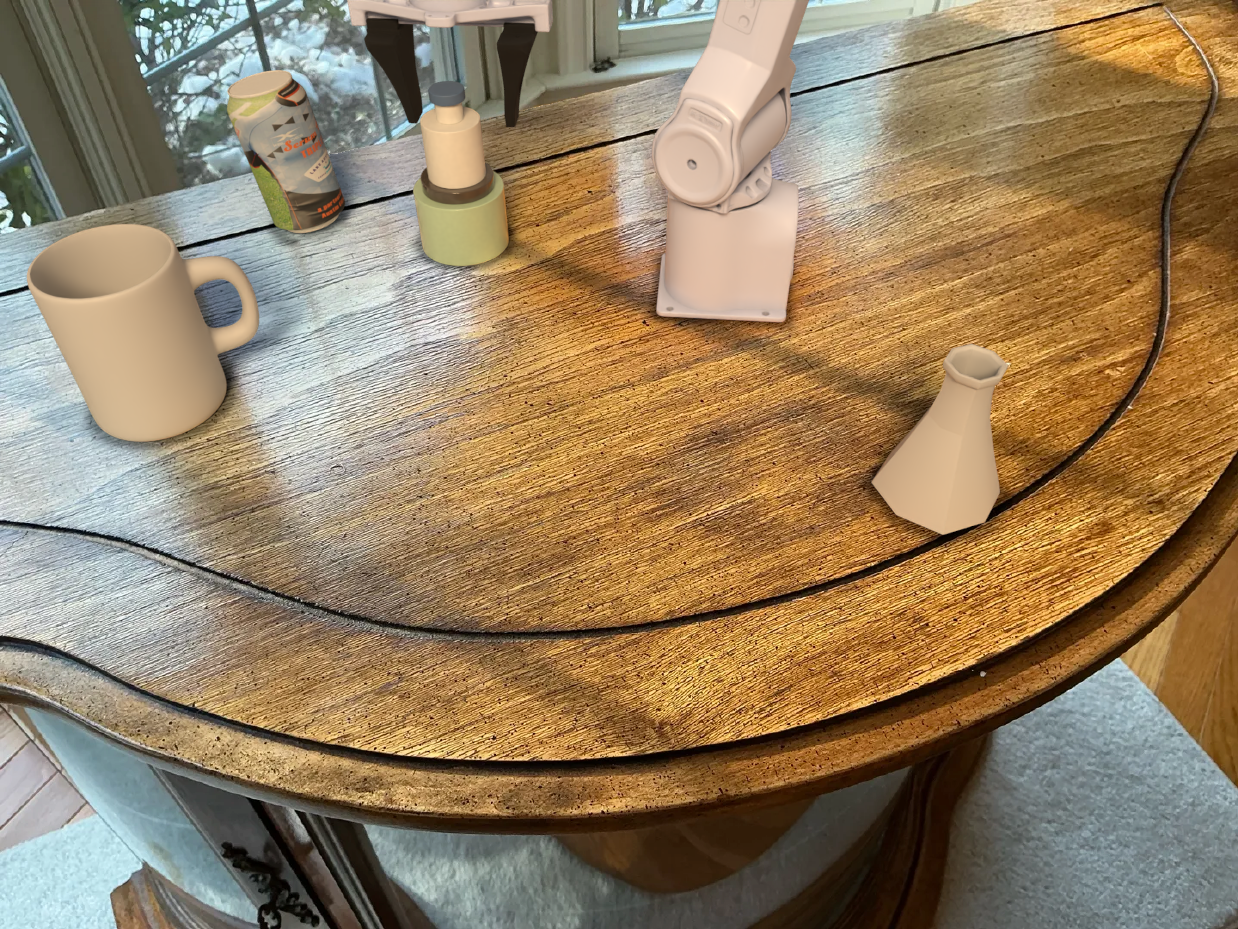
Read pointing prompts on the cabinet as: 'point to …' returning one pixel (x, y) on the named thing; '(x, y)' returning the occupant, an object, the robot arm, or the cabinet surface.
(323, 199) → the beverage can
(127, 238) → the mug
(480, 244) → the sage jar
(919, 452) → the flask
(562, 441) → the cabinet surface
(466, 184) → the cream bottle
